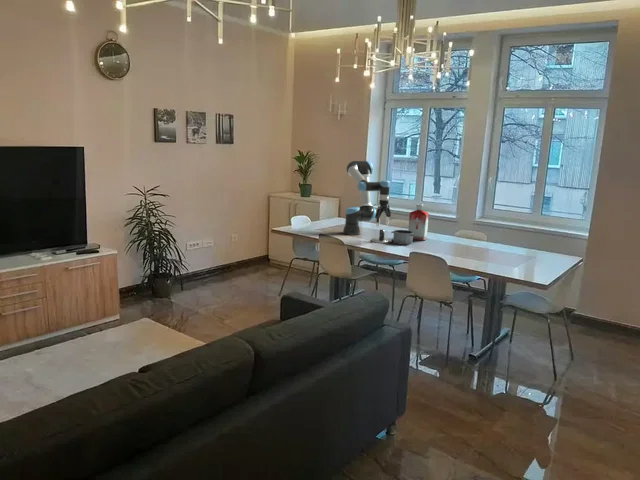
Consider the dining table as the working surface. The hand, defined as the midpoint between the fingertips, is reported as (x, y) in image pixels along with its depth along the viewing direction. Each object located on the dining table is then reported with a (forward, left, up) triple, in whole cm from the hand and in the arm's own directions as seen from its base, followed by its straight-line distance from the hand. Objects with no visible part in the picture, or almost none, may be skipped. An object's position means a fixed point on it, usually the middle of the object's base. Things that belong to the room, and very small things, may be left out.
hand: (382, 225), depth 420 cm
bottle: (+16, +31, -13) cm, 37 cm away
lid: (0, 0, -13) cm, 13 cm away
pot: (+15, +9, -13) cm, 22 cm away
